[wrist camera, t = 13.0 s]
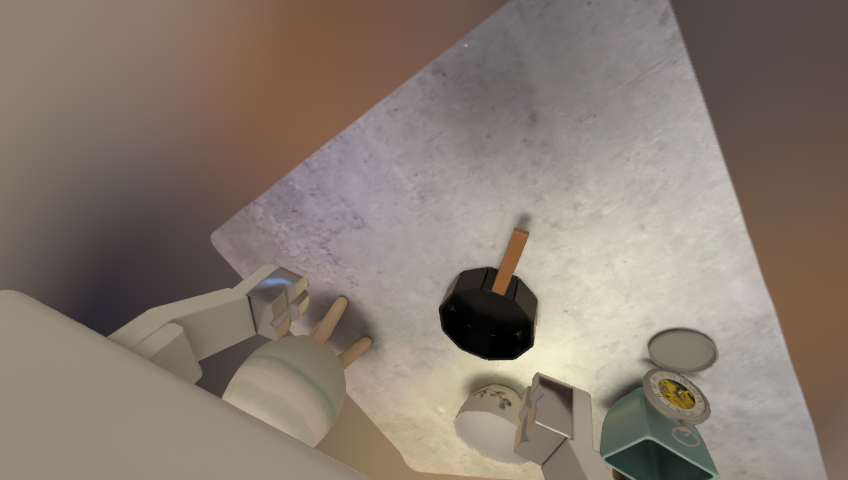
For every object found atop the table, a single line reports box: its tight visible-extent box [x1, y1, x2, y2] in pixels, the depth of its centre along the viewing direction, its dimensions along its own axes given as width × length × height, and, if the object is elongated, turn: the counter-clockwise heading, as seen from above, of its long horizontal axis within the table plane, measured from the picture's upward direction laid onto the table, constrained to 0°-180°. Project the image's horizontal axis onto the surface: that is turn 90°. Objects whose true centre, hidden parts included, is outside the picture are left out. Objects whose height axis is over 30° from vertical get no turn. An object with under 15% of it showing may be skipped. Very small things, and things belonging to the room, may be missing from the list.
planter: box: [222, 297, 372, 448], centre depth 54 cm, size 16×16×22 cm
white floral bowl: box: [454, 384, 530, 465], centre depth 55 cm, size 15×12×8 cm
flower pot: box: [600, 387, 720, 480], centre depth 43 cm, size 9×9×9 cm
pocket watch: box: [642, 331, 718, 446], centre depth 37 cm, size 8×8×10 cm
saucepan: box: [439, 228, 537, 360], centre depth 43 cm, size 21×13×5 cm, turn 171°
